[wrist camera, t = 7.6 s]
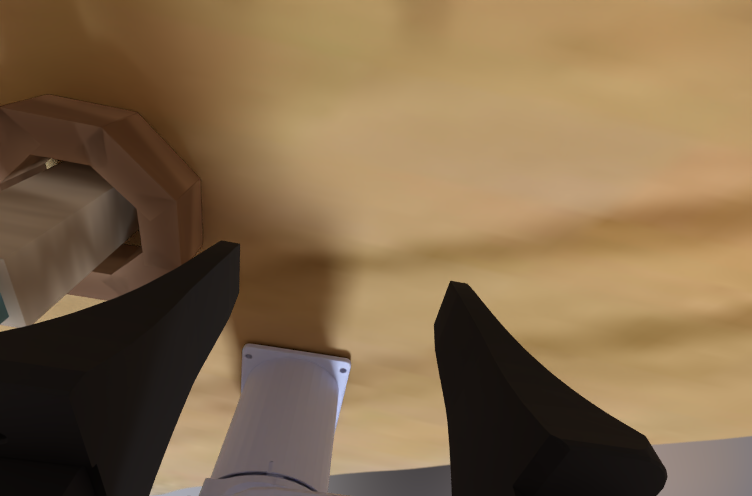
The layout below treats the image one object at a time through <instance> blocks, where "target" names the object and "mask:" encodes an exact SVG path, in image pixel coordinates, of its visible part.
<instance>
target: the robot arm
mask: <svg viewBox="0 0 752 496" xmlns="http://www.w3.org/2000/svg"><path fill="white" fill-rule="evenodd" d="M239 271H240V244H238V243H232V242H227V241H220V242H218V243H216V244H215V245H213V246H212V247H210V248H208V249H207V250H205V251H204V252H202V253H200V254H199V255H197V256H196V257H194V258H192V259H191V260H189V261H187V262H186V263H184V264H182V265H181V266H179V267H177V268H176V269H174V270H172V271H170V272H168V273H166V274H164V275H163V276H161V277H159V278H157V279H155V280H153V281H151V282H149V283H147V284H145V285H143V286H141V287H139V288H137V289H135V290H133V291H130V292H128V293H125V294H123V295H121V296H118V297H116V298H114V299H111V300H108V301H106V302H103V303H100V304H97V305H94V306H92V307H89V308H86V309H83V310H80V311H77V312H74V313H71V314H68V315H65V316H61V317H58V318H55V319H51V320H47V321H44V322H40V323H36V324H32V325H28V326H24V327H20V328H16V329H11V330H7V331H2V332H0V496H149V494H150V491H151V489H152V486H153V483H154V480H155V478H156V475H157V472H158V470H159V467H160V464H161V462H162V459H163V457H164V454H165V451H166V449H167V446H168V443H169V441H170V438H171V436H172V433H173V431H174V429H175V426H176V424H177V421H178V419H179V416H180V414H181V411H182V409H183V407H184V404H185V402H186V399H187V397H188V395H189V392H190V390H191V388H192V385H193V383H194V381H195V379H196V377H197V375H198V373H199V371H200V370H201V368H202V366H203V364H204V362H205V361H206V359H207V357H208V355H209V353H210V352H211V350H212V348H213V346H214V345H215V343H216V341H217V339H218V337H219V336H220V334H221V332H222V330H223V328H224V326H225V325H226V323H227V321H228V319H229V317H230V315H231V312H232V310H233V307H234V304H235V302H236V299H237V296H238V294H239ZM434 339H435V352H436V358H437V364H438V369H439V375H440V380H441V386H442V391H443V396H444V402H445V407H446V414H447V421H448V434H449V447H450V464H451V481H452V482H451V484H452V496H656V495H658V493H659V492H660V491H661V490H662V489H663V487H664V485H665V482H666V480H667V472H666V469H665V467H664V465H663V464H662V462H661V460H660V459H659V457H658V456H657V454H656V452H655V451H654V449H653V447H652V446H651V444H650V442H649V441H648V439H647V438H646V436H644V435H643V434H641V433H639V432H638V431H636V430H634V429H633V428H631V427H629V426H628V425H626V424H624V423H622V422H621V421H619V420H617V419H616V418H614V417H612V416H611V415H609V414H607V413H606V412H604V411H603V410H601V409H600V408H598V407H597V406H595V405H594V404H592V403H591V402H589V401H588V400H586V399H585V398H584V397H582V396H581V395H579V394H578V393H577V392H575V391H574V390H572V389H571V388H570V387H569V386H567V385H566V384H565V383H563V382H562V381H561V380H560V379H558V378H557V377H556V376H554V375H553V374H552V373H551V372H550V371H548V370H547V369H546V368H545V367H544V366H543V365H542V364H540V363H539V362H538V361H537V360H536V359H535V358H534V357H533V356H532V355H530V354H529V353H528V352H527V351H526V350H525V349H524V348H523V347H522V346H521V345H520V344H519V343H518V342H517V341H516V340H515V339H514V337H513V336H512V335H511V334H510V333H509V332H508V331H507V330H506V329H505V328H504V327H503V326H502V324H501V323H500V322H499V321H498V320H497V319H496V317H495V316H494V315H493V314H492V313H491V311H490V310H489V309H488V308H487V307H486V305H485V304H484V303H483V302H482V301H481V299H480V298H479V297H478V296H477V294H476V293H475V292H474V291H473V290H472V288H471V287H470V286H469V285H468V284H466V283H460V282H455V281H450V283H449V286H448V288H447V291H446V294H445V296H444V299H443V302H442V304H441V307H440V310H439V312H438V315H437V318H436V320H435V323H434ZM249 354H250V355H249ZM342 368H344V369H342ZM350 368H351V361H350V360H349V359H347V358H343V357H336V356H329V355H323V354H316V353H310V352H303V351H297V350H290V349H284V348H277V347H271V346H264V345H257V344H251V343H248V344H245V345H244V347H243V350H242V379H241V397H240V399H239V402H238V405H237V407H236V410H235V413H234V415H233V418H232V421H231V424H230V426H229V429H228V432H227V434H226V437H225V440H224V443H223V445H222V448H221V451H220V453H219V456H218V459H217V462H216V464H215V467H214V470H213V472H212V475H211V478H206V479H205V481H204V483H203V486H202V489H201V491H200V494H199V496H348V495H339V494H332V493H327V492H328V483H329V475H330V466H331V457H332V449H333V440H334V434H335V430H336V425H337V421H338V417H339V413H340V409H341V405H342V401H343V397H344V393H345V388H346V384H347V380H348V376H349V372H350Z"/></svg>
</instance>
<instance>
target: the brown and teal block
mask: <svg viewBox="0 0 752 496" xmlns="http://www.w3.org/2000/svg"><path fill="white" fill-rule="evenodd" d="M138 229H139V222H138V215H137V209H136V208H135V207H134V206H133V205H132V204H131V203H130V202H129V201H128V200H127V199H126V198H125V197H123V196H122V195H121V194H120V193H119V192H118V191H117V190H116V189H115V188H114V187H113V186H112V185H111V184H109V183H108V182H107V181H106V180H105V179H104V178H103V177H102V176H101V175H100V174H99V173H98V172H97V171H95V170H94V169H93V168H92V167H91V166H90V165H85V164H79V163H74V162H69V161H63V162H61V163H59V164H57V165H55V166H53V167H51V168H49V169H47V170H44V171H42V172H40V173H38V174H36V175H34V176H32V177H30V178H28V179H26V180H23V181H21V182H19V183H17V184H15V185H13V186H11V187H9V188H7V189H4V190H2V191H0V325H5V326H11V327H17V328H20V327H24V326H28V325H32V324H34V323H35V322H36V321H37V320H38V319H39V318H40V317H41V316H42V315H44V314H45V313H46V312H47V311H48V310H49V309H50V308H51V307H53V306H54V305H55V304H56V303H57V302H58V301H59V300H60V299H61V298H63V297H64V296H65V295H66V294H67V293H68V292H69V291H70V290H71V289H73V288H74V287H75V286H76V285H77V284H78V283H79V282H80V281H81V280H83V279H84V278H85V277H86V276H87V275H88V274H89V273H90V272H91V271H93V270H94V269H95V268H96V267H97V266H98V265H99V264H100V263H102V262H103V261H104V260H105V259H106V258H107V257H108V256H109V255H110V254H112V253H113V252H114V251H115V250H116V249H117V248H118V247H119V246H120V245H122V244H123V243H124V242H125V241H126V240H127V239H128V238H129V237H130V236H132V235H133V234H134V233H135V232H136V231H137V230H138Z"/></svg>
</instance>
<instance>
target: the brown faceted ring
mask: <svg viewBox="0 0 752 496" xmlns="http://www.w3.org/2000/svg"><path fill="white" fill-rule="evenodd" d="M50 158H53V159H58V160H63V161H69V162H74V163H79V164H85V165H90V166H91V167H92V168H93V169H94V170H95V171H97V172H98V173H99V174H100V175H101V176H102V177H103V178H104V179H105V180H106V181H107V182H108V183H109V184H111V185H112V186H113V187H114V188H115V189H116V190H117V191H118V192H119V193H120V194H121V195H122V196H123V197H125V198H126V199H127V200H128V201H129V202H130V203H131V204H132V205H133V206H134V207H135V208H136V209H137V215H138V222H139V229H140V237H141V244H142V246H140V247H137V246H132V245H126V244H122V245H120V246H119V247H118V248H117V249H116V250H115V251H114V252H113V253H112V254H110V255H109V256H108V257H107V258H106V259H105V260H104V261H103V262H102V263H100V264H99V265H98V266H97V267H96V268H95V269H94V270H93V271H91V272H90V273H89V274H88V275H87V276H86V277H85V278H84V279H83V280H81V281H80V282H79V283H78V284H77V285H76V286H75V287H74V288H73V289H71V290H70V291H69V292H68V293H67V294H69V295H76V296H82V297H88V298H95V299H101V300H107V301H108V300H111V299H114V298H116V297H118V296H121V295H123V294H125V293H128V292H130V291H133V290H135V289H137V288H139V287H141V286H143V285H145V284H147V283H149V282H151V281H153V280H155V279H157V278H159V277H161V276H163V275H164V274H166V273H168V272H170V271H172V270H174V269H176V268H177V267H179V266H181V265H182V264H184V263H186V262H187V261H189V260H191V259H192V258H193V256H194V255H195V254H196V252H197V251H198V250H199V249H200V247H201V246H202V245H203V231H202V205H201V179H200V178H199V177H198V176H197V175H196V174H195V173H194V172H193V171H192V170H191V169H190V167H189V166H188V165H187V164H186V163H185V162H184V161H183V160H182V159H181V158H180V157H179V156H178V155H177V154H176V153H175V152H174V151H173V149H172V148H171V147H170V146H169V145H168V144H167V143H166V142H165V141H164V140H163V139H162V138H161V137H160V136H159V135H158V134H157V133H156V132H155V130H154V129H153V128H152V127H151V126H150V125H149V124H148V123H147V122H146V121H145V120H144V119H143V118H142V117H141V116H140V115H139V114H138V112H134V111H129V110H124V109H119V108H114V107H109V106H104V105H99V104H94V103H89V102H84V101H79V100H74V99H69V98H64V97H59V96H54V95H49V94H47V95H43V96H39V97H35V98H31V99H27V100H23V101H19V102H15V103H11V104H7V105H3V106H0V191H2V190H4V189H7V188H9V187H11V186H13V185H15V184H17V183H19V182H21V181H23V180H26V179H28V178H30V177H32V176H34V175H36V174H38V173H40V172H42V171H44V170H46V166H45V163H46V162H47V161H48V160H49V159H50Z"/></svg>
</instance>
